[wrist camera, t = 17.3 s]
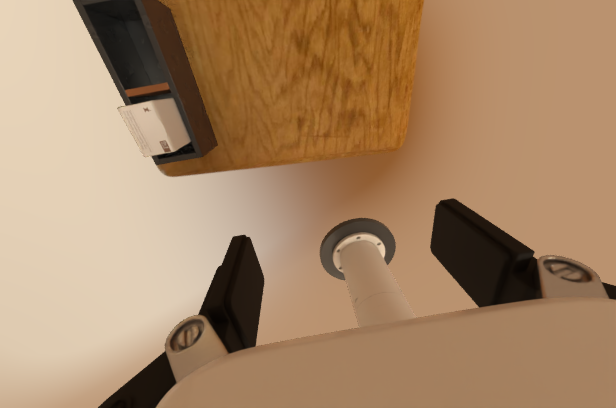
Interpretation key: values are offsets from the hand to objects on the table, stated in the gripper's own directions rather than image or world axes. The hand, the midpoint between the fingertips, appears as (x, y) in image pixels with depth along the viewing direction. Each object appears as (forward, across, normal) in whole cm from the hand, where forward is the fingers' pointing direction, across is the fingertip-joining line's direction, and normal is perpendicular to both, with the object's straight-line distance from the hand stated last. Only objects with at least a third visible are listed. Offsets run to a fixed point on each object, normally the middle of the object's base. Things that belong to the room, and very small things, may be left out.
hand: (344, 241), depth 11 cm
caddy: (+32, +20, -10) cm, 39 cm away
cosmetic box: (+32, +19, -6) cm, 37 cm away
